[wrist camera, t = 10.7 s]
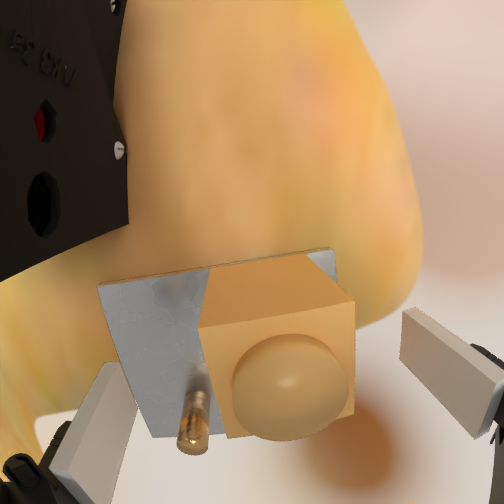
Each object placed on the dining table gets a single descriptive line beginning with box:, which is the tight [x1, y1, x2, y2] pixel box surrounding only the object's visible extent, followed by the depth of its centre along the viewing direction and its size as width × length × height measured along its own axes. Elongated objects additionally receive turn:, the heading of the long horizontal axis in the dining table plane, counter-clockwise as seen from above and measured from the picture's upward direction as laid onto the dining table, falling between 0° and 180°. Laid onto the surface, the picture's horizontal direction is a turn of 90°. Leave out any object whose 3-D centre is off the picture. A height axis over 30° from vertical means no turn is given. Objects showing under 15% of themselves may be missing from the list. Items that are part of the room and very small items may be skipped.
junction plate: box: [97, 247, 337, 438], centre depth 21 cm, size 16×14×1 cm
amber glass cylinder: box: [177, 390, 211, 455], centre depth 19 cm, size 2×2×5 cm
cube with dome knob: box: [198, 253, 355, 441], centre depth 15 cm, size 6×6×10 cm
